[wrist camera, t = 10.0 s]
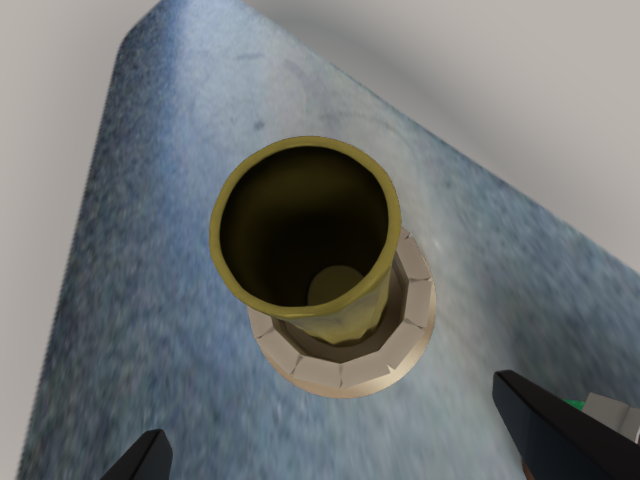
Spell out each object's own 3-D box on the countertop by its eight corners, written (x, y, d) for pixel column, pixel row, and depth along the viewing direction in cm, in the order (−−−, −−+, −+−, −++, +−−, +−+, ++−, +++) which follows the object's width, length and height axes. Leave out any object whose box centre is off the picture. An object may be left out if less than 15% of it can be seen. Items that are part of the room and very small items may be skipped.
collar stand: (421, 418, 20) (436, 435, 16) (233, 371, 23) (202, 376, 18) (442, 229, 24) (458, 202, 20) (277, 205, 26) (260, 176, 22)
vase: (295, 348, 22) (179, 342, 8) (294, 257, 24) (201, 131, 10) (391, 346, 21) (436, 334, 7) (382, 252, 23) (406, 109, 9)
